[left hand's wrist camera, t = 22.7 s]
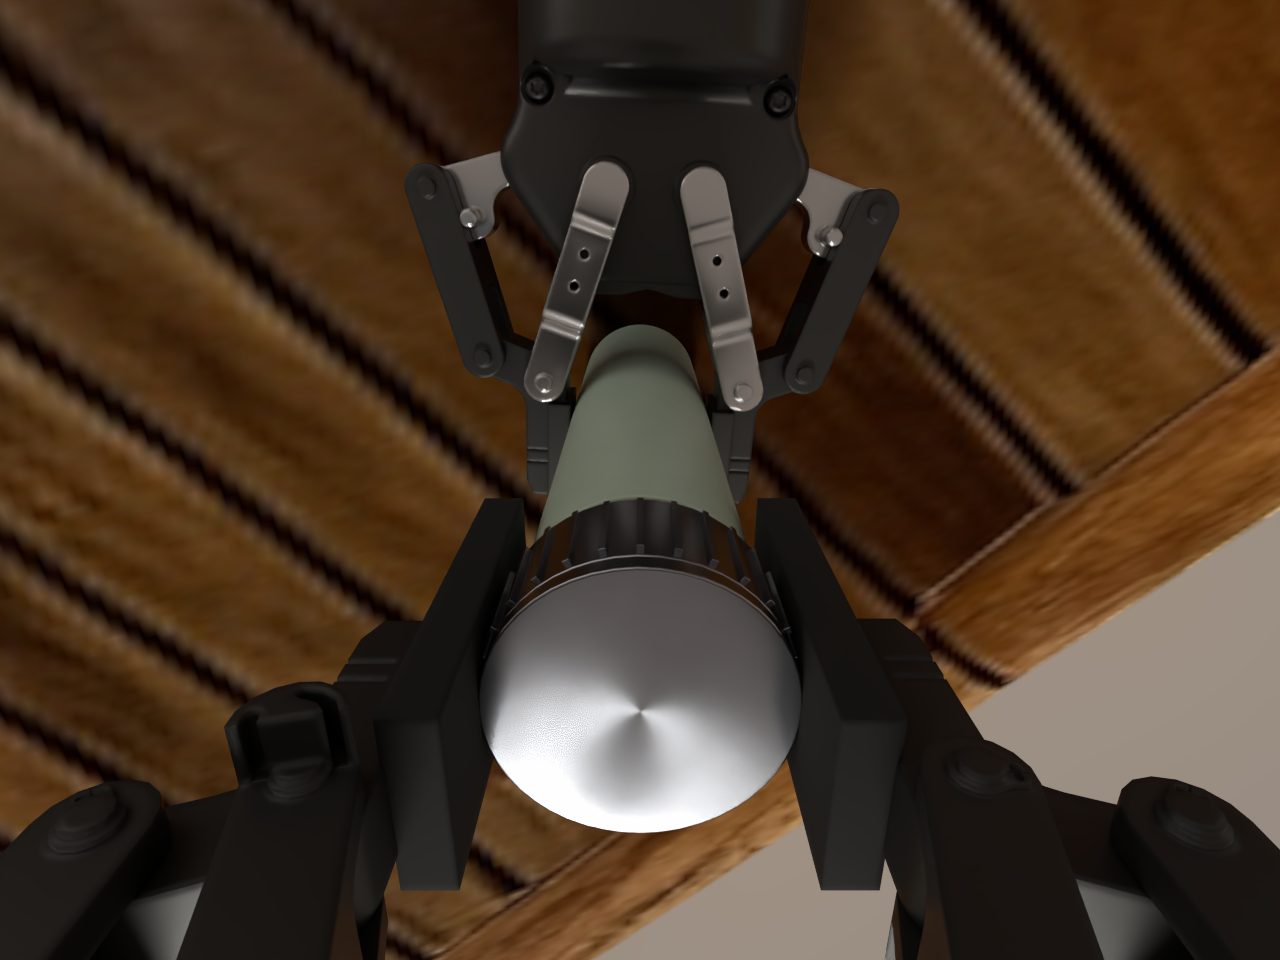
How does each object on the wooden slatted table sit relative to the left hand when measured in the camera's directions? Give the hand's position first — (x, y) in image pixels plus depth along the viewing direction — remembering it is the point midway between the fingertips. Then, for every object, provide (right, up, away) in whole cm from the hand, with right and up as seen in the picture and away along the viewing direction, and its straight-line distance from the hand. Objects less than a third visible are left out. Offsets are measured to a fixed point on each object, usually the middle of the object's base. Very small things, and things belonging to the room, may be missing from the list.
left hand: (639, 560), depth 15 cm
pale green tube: (0, +6, +15) cm, 16 cm away
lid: (0, -2, -4) cm, 4 cm away
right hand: (0, +1, +9) cm, 9 cm away
